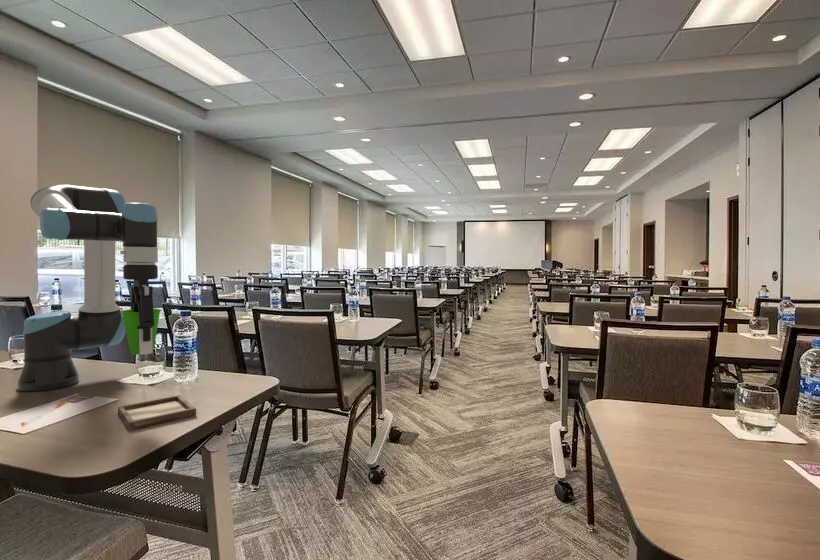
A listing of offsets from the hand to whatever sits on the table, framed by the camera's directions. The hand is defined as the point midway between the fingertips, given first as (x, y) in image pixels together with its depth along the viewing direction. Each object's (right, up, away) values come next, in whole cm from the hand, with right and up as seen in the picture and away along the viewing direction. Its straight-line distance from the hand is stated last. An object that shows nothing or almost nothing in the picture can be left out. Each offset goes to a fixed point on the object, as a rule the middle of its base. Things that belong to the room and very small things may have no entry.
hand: (142, 350), depth 111 cm
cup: (0, -1, 0) cm, 1 cm away
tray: (+2, -18, +3) cm, 18 cm away
